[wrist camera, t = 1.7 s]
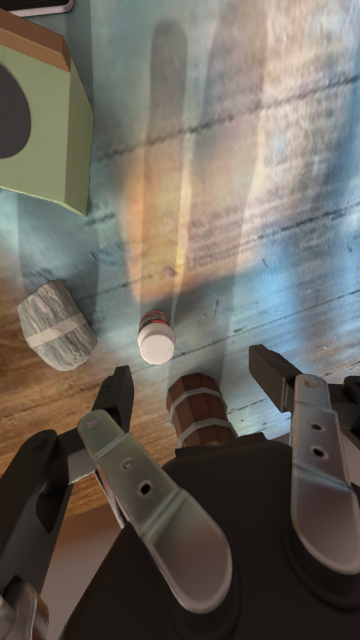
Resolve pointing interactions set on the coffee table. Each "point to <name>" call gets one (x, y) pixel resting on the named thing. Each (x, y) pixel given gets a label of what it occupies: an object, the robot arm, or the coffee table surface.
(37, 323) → the decorative stone
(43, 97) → the green footstool with circle
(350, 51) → the coffee table surface
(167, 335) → the pill bottle
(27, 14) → the smartphone
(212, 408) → the mug
